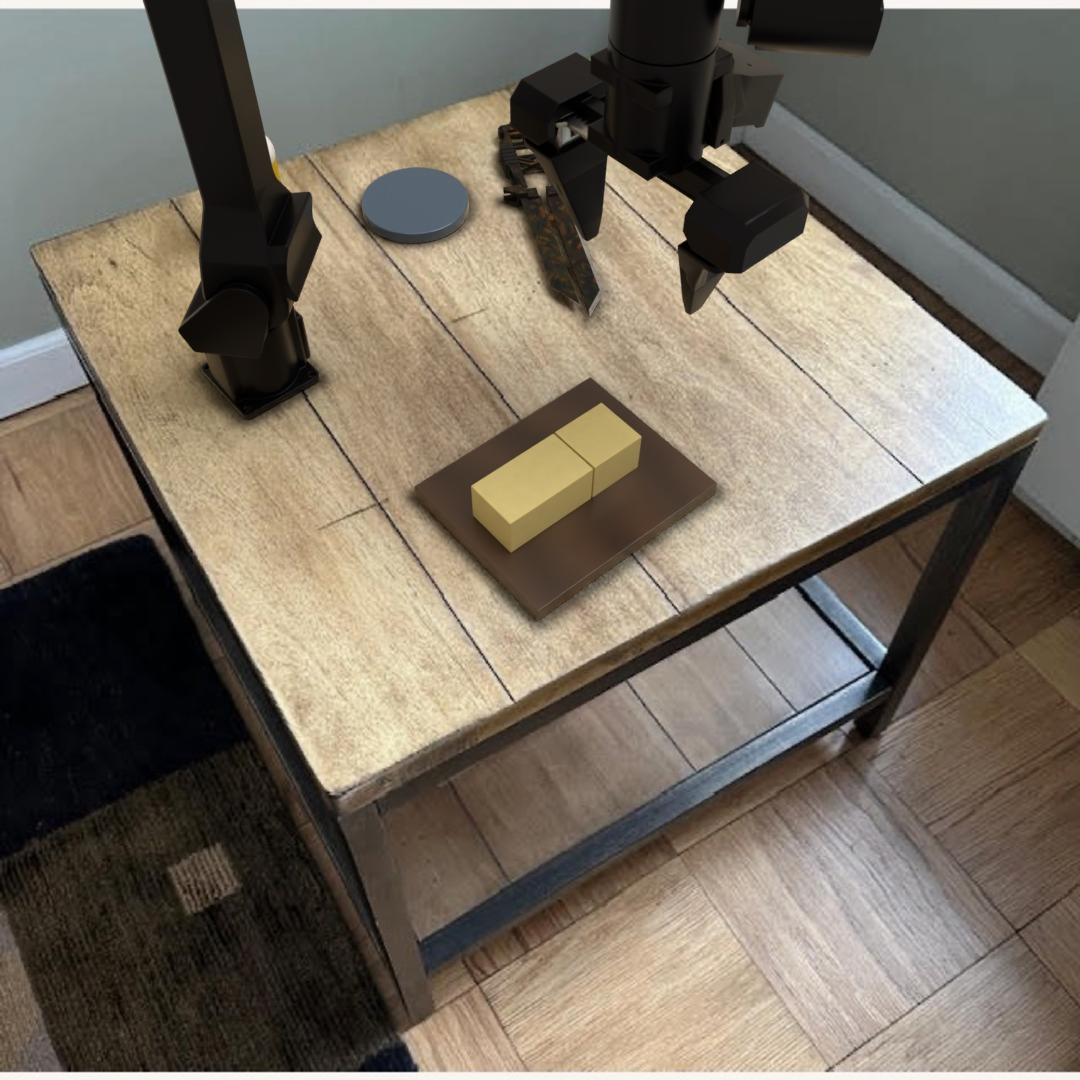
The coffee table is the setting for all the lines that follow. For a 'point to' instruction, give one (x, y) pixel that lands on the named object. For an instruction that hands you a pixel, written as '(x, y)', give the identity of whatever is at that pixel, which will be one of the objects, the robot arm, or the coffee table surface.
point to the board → (588, 531)
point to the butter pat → (603, 445)
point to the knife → (548, 225)
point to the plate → (415, 205)
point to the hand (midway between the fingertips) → (640, 273)
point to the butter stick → (531, 492)
